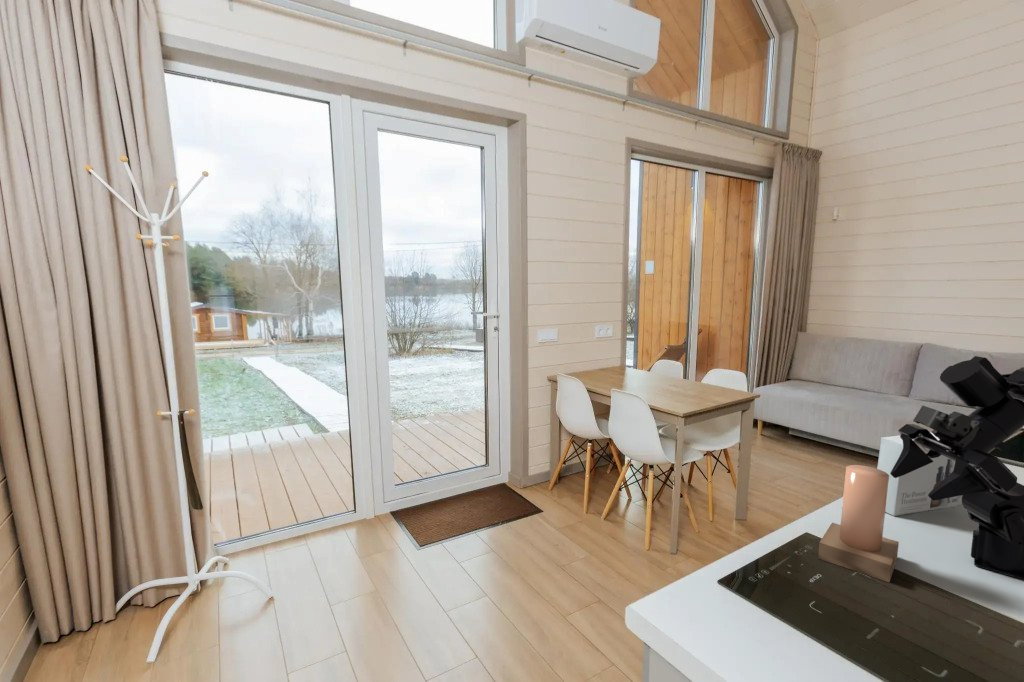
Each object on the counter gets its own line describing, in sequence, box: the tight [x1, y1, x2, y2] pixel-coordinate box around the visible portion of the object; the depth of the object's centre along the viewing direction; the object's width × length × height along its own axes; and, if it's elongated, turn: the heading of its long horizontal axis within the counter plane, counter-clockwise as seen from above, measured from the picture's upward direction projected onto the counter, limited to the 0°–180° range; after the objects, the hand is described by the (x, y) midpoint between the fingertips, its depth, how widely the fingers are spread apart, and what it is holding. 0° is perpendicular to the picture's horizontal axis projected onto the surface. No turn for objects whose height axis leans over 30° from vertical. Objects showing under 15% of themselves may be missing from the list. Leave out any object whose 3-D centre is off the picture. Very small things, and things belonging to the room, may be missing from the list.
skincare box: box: [876, 431, 963, 517], centre depth 104 cm, size 21×5×16 cm, turn 105°
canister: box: [839, 464, 889, 552], centre depth 84 cm, size 6×6×13 cm
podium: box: [817, 522, 900, 583], centre depth 85 cm, size 10×10×3 cm
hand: (910, 486), depth 82 cm, fingers open, 9 cm apart
